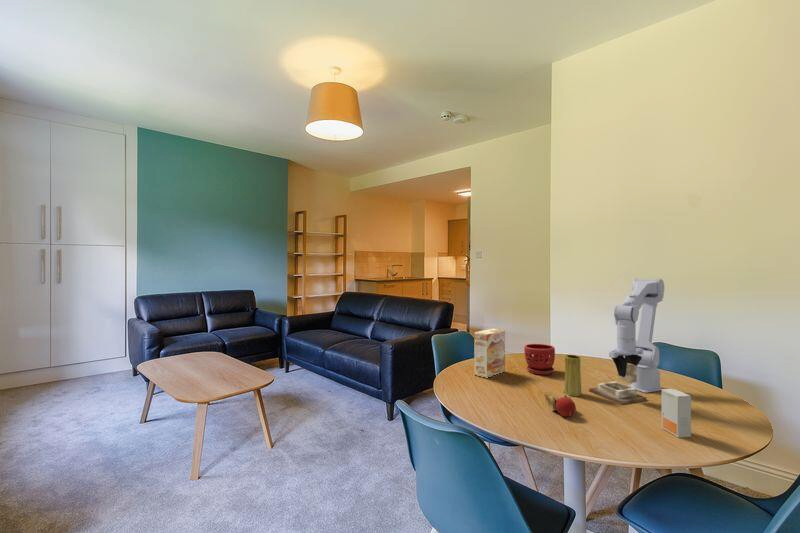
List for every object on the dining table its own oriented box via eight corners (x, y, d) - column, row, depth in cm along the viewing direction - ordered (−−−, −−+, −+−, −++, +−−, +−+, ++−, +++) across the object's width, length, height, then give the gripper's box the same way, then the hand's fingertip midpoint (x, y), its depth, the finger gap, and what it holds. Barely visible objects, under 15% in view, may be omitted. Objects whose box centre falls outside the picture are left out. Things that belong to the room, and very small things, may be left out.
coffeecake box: (487, 379, 155) (487, 334, 154) (473, 375, 160) (473, 332, 160) (505, 372, 165) (505, 329, 165) (492, 368, 170) (492, 327, 170)
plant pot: (557, 370, 167) (557, 344, 167) (552, 378, 156) (552, 350, 156) (528, 366, 174) (527, 341, 174) (521, 373, 163) (521, 347, 163)
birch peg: (626, 378, 133) (626, 362, 133) (636, 382, 129) (636, 365, 129) (618, 379, 132) (618, 363, 131) (628, 383, 128) (628, 366, 128)
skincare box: (660, 428, 108) (660, 388, 108) (673, 427, 108) (673, 388, 108) (678, 438, 102) (677, 396, 102) (691, 437, 102) (691, 395, 102)
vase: (583, 397, 133) (583, 358, 133) (566, 396, 135) (566, 358, 134) (579, 391, 139) (579, 354, 139) (562, 390, 140) (562, 354, 140)
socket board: (612, 387, 143) (612, 378, 143) (646, 400, 130) (646, 390, 130) (589, 391, 139) (589, 382, 139) (621, 404, 126) (621, 394, 126)
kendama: (535, 402, 132) (555, 416, 114) (538, 385, 133) (558, 396, 115) (557, 406, 132) (580, 421, 114) (559, 389, 133) (582, 400, 115)
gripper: (621, 342, 124) (621, 381, 124) (651, 338, 129) (651, 376, 129) (603, 338, 131) (604, 375, 131) (632, 335, 136) (632, 370, 136)
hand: (626, 375), depth 131 cm, fingers closed on birch peg, 4 cm apart
